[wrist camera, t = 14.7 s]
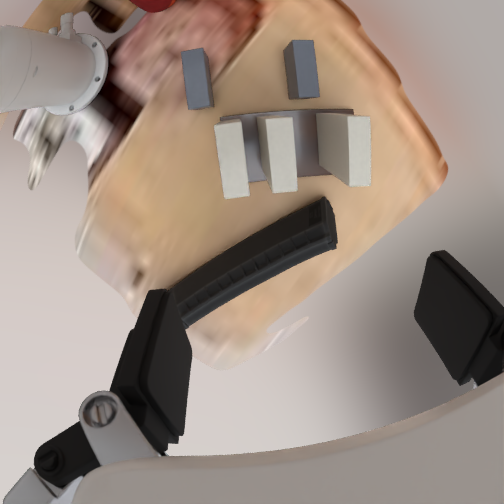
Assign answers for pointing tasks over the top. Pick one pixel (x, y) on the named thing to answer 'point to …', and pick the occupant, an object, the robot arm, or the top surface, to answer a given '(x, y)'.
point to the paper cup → (153, 4)
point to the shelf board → (302, 136)
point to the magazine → (256, 260)
